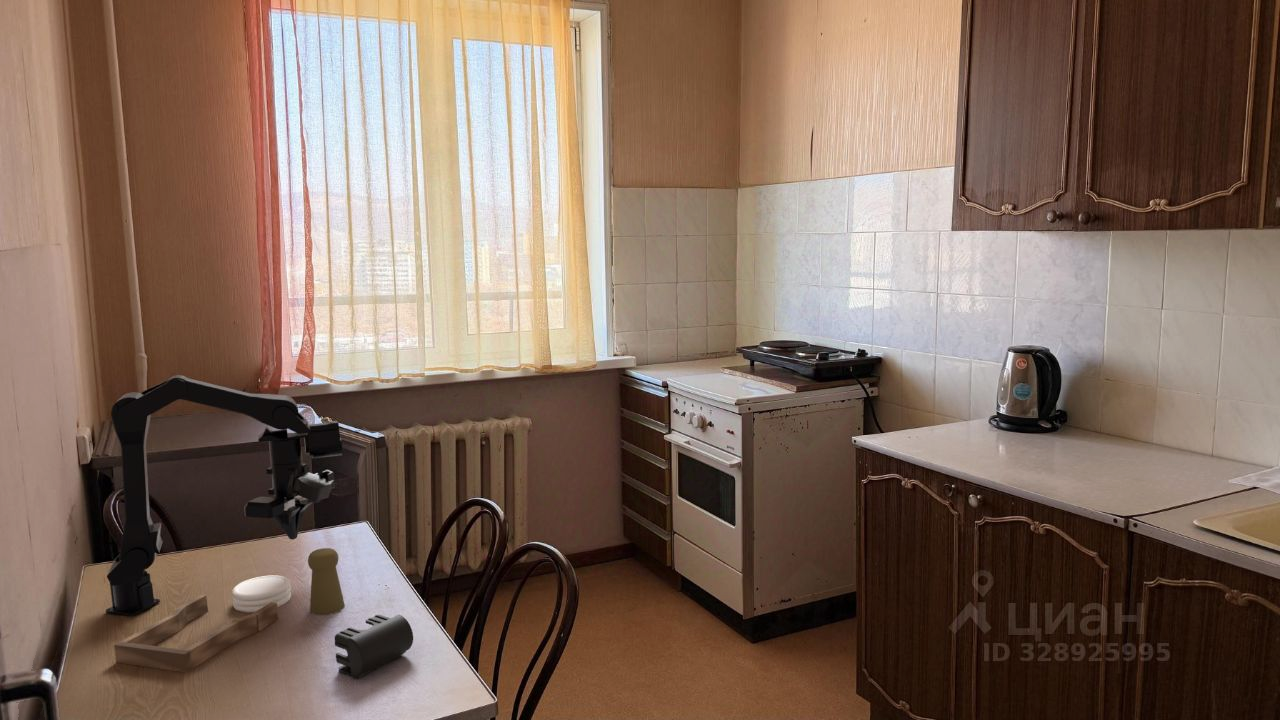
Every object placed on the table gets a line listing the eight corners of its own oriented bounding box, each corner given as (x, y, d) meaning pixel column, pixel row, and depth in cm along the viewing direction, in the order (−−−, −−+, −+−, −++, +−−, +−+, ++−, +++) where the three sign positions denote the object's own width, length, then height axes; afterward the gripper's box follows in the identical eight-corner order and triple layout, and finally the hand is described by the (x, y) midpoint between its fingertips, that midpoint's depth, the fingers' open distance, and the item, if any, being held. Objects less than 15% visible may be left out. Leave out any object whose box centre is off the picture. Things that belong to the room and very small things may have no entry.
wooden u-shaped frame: (202, 610, 163) (201, 594, 162) (278, 619, 158) (276, 602, 157) (109, 661, 144) (107, 644, 143) (192, 673, 139) (191, 655, 138)
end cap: (364, 685, 134) (361, 642, 133) (334, 673, 138) (331, 632, 137) (415, 658, 142) (412, 618, 141) (385, 647, 146) (382, 608, 145)
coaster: (243, 593, 170) (242, 576, 170) (297, 590, 171) (296, 572, 171) (225, 615, 160) (223, 597, 160) (282, 611, 162) (281, 593, 161)
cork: (333, 616, 158) (328, 557, 157) (302, 614, 160) (297, 555, 158) (351, 602, 164) (346, 545, 163) (321, 600, 165) (316, 543, 164)
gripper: (290, 476, 161) (297, 559, 163) (351, 451, 178) (356, 526, 181) (239, 473, 164) (246, 554, 166) (303, 449, 182) (309, 522, 184)
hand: (293, 538), depth 174 cm, fingers closed
